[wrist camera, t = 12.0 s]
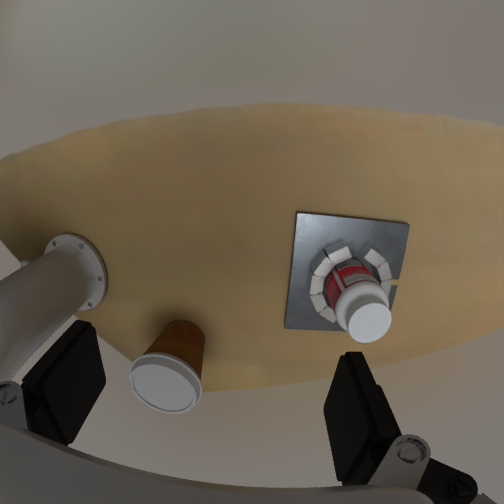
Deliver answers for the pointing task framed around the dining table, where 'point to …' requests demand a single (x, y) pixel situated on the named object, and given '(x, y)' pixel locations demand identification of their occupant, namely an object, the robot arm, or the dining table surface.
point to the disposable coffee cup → (170, 369)
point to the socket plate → (326, 235)
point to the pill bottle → (358, 301)
